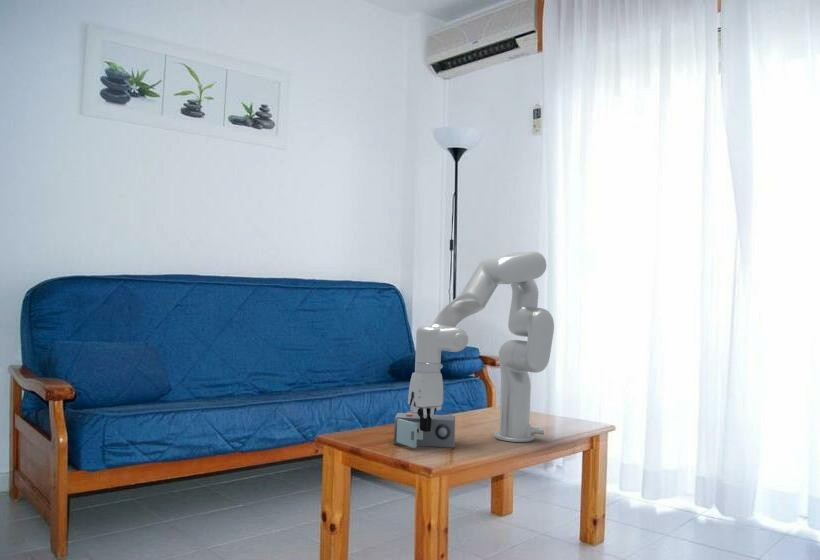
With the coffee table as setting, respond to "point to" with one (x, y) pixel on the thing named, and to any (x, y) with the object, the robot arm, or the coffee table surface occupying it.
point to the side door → (406, 432)
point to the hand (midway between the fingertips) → (425, 430)
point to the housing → (439, 433)
